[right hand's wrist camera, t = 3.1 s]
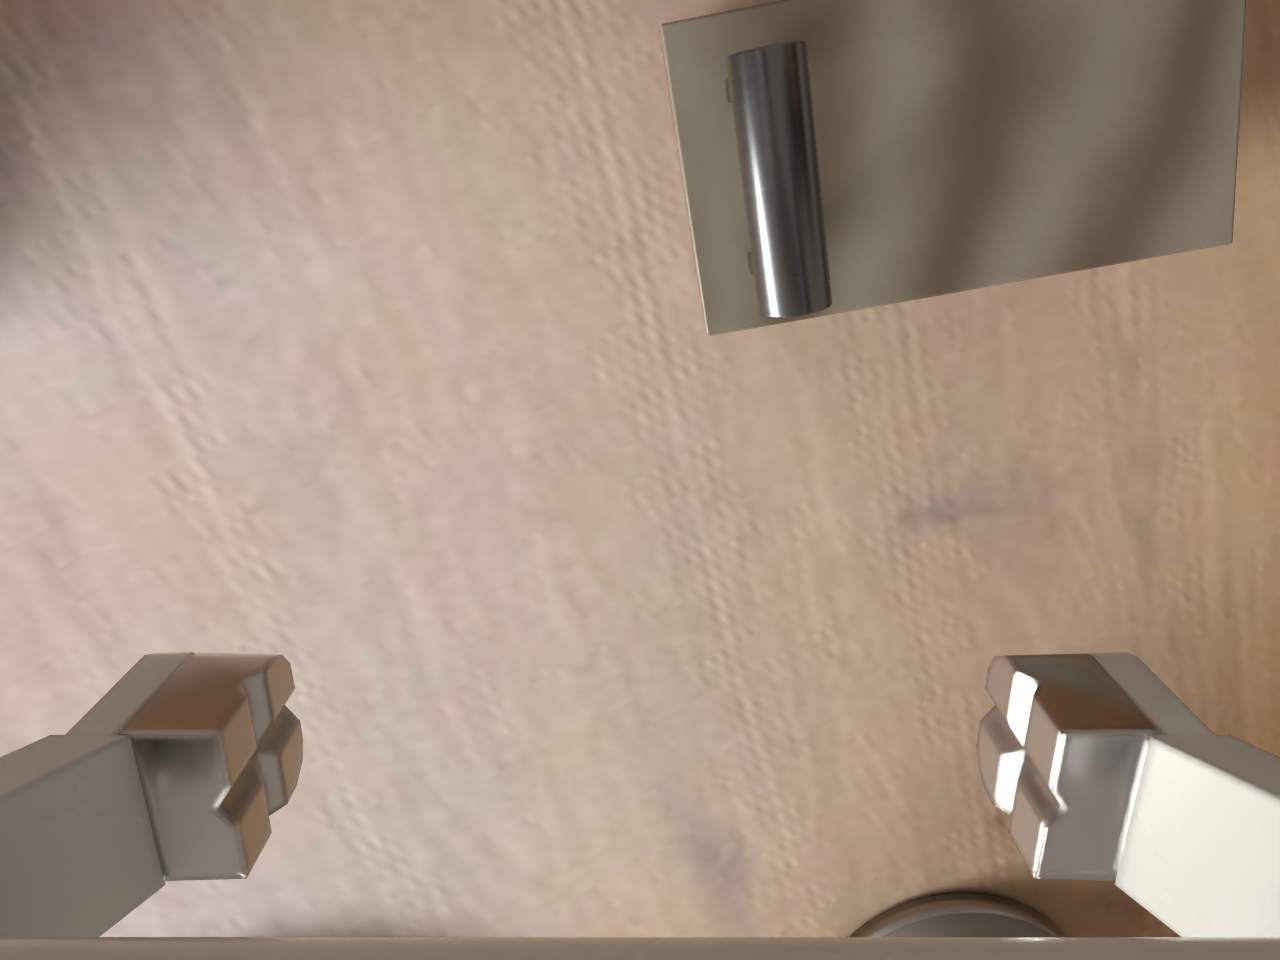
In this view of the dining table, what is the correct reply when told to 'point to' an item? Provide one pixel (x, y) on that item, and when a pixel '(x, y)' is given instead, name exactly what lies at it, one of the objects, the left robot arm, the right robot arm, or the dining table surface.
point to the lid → (946, 145)
